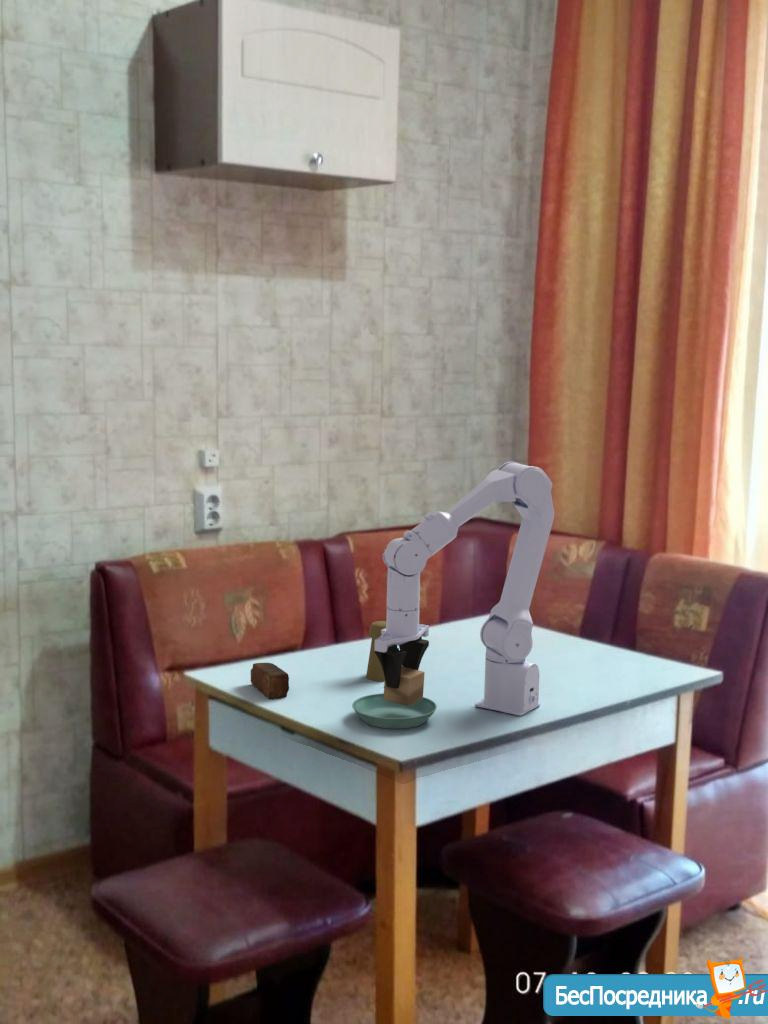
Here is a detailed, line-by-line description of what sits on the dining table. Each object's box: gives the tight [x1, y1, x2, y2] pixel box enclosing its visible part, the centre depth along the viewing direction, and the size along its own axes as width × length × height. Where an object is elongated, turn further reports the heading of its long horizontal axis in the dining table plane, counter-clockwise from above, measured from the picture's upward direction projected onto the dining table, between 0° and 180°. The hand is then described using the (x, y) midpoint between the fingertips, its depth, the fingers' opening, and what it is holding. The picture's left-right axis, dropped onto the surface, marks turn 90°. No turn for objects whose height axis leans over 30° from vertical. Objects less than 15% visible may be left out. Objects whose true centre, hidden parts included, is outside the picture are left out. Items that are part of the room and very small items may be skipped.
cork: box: [365, 620, 386, 682], centre depth 231 cm, size 6×6×11 cm
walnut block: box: [383, 666, 426, 706], centre depth 207 cm, size 5×5×5 cm
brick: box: [250, 662, 290, 700], centre depth 221 cm, size 11×4×5 cm, turn 26°
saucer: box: [351, 692, 438, 730], centre depth 206 cm, size 15×15×3 cm
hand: (401, 683), depth 207 cm, fingers closed on walnut block, 5 cm apart
